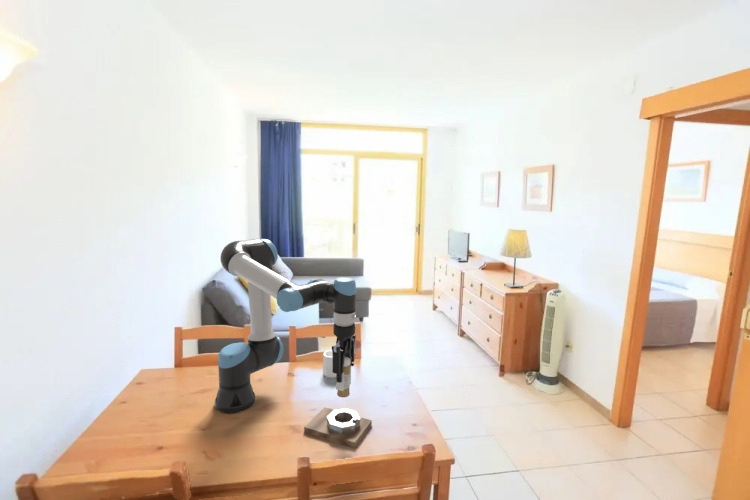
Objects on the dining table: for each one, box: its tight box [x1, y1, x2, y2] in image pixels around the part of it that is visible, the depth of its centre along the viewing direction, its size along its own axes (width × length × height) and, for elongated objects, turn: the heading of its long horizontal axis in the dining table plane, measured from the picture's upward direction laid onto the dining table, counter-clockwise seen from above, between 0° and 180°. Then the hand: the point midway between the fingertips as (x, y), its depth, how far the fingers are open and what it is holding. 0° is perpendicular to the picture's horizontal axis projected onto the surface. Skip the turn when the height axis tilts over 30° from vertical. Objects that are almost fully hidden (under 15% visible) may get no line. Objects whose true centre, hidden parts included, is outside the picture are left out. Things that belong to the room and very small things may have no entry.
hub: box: [327, 407, 361, 435], centre depth 137 cm, size 11×11×4 cm
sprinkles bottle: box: [336, 357, 351, 398], centre depth 135 cm, size 5×5×14 cm
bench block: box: [303, 407, 373, 449], centre depth 139 cm, size 20×14×2 cm
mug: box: [322, 349, 336, 379], centre depth 178 cm, size 12×9×10 cm
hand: (343, 386), depth 135 cm, fingers closed on sprinkles bottle, 4 cm apart
